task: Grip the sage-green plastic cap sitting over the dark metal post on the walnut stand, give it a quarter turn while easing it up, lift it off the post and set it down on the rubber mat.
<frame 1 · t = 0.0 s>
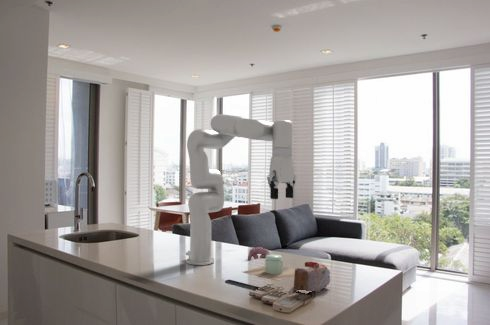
hand: (281, 198, 150), 31 cm above the worktop, tool pointing down, fingers open, 9 cm apart
mat: (248, 283, 145), on the worktop
food item: (311, 290, 139), on the worktop
post stand: (273, 275, 157), on the worktop
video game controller: (258, 260, 184), on the worktop
cap: (273, 271, 157), point 1 cm above the worktop, touching post stand
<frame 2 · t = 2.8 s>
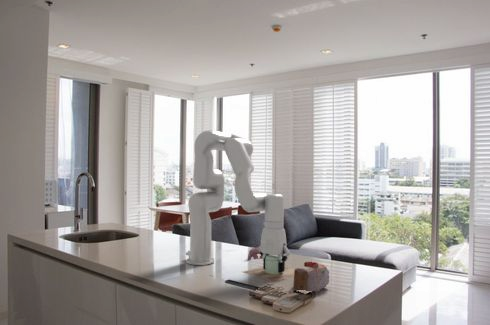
hand: (273, 270, 157), 2 cm above the worktop, tool pointing down, fingers closed on cap, 6 cm apart
cap: (273, 271, 157), point 1 cm above the worktop, touching gripper, post stand
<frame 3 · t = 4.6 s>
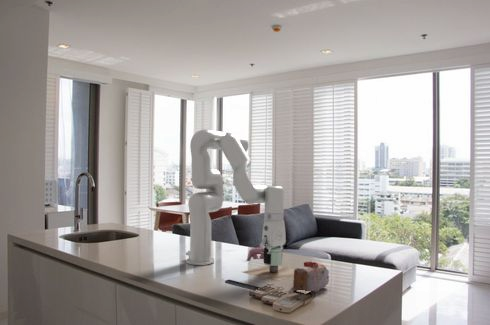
hand: (272, 261, 157), 5 cm above the worktop, tool pointing down, fingers closed on cap, 6 cm apart
cap: (272, 263, 157), point 5 cm above the worktop, touching gripper
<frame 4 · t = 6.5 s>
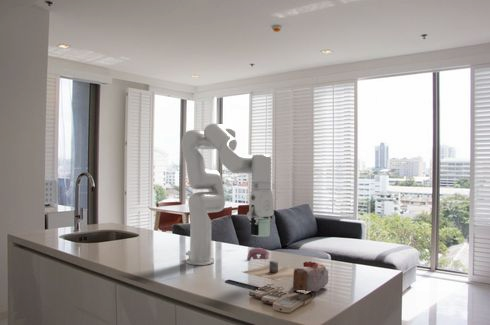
hand: (260, 233, 151), 18 cm above the worktop, tool pointing down, fingers closed on cap, 6 cm apart
cap: (260, 235, 151), point 17 cm above the worktop, touching gripper
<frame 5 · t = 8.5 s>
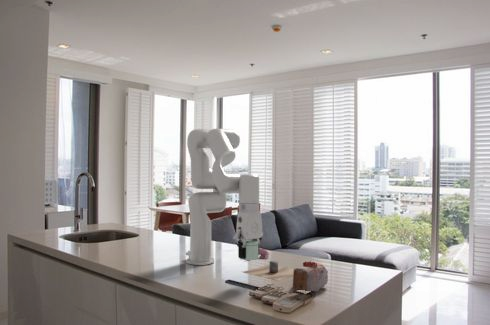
hand: (248, 256, 145), 10 cm above the worktop, tool pointing down, fingers closed on cap, 6 cm apart
cap: (248, 258, 145), point 9 cm above the worktop, touching gripper
when the fingers open (3 cm above the worktop, at t = 10.3 s): cap drops 1 cm, resting on mat.
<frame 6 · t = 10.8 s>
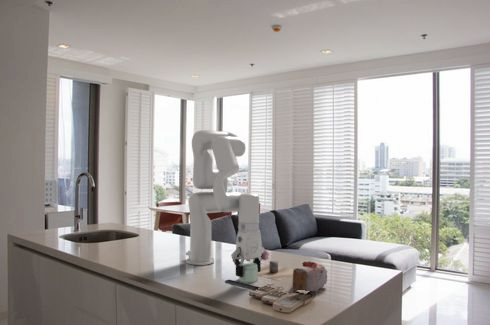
hand: (248, 273, 145), 4 cm above the worktop, tool pointing down, fingers open, 9 cm apart
cap: (248, 281, 145), point 1 cm above the worktop, touching mat
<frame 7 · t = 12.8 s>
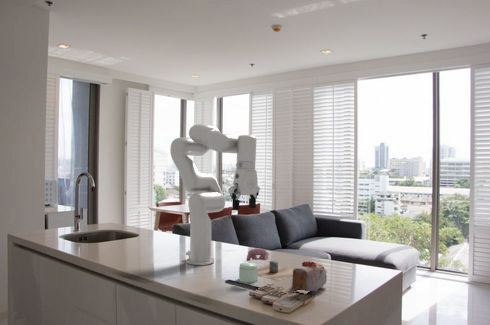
hand: (244, 209, 158), 26 cm above the worktop, tool pointing down, fingers open, 9 cm apart
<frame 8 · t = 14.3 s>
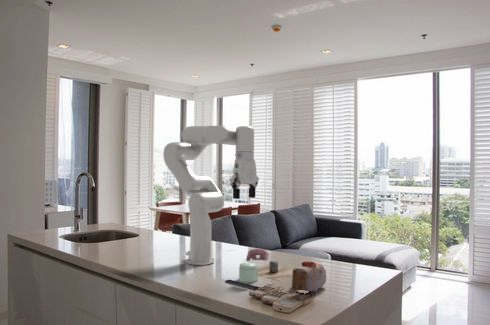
hand: (244, 198, 162), 30 cm above the worktop, tool pointing down, fingers open, 9 cm apart
at the end: cap inside the target area on the mat (0.0 cm from its centre), point 0.8 cm above the mat's base; cap tilted 0°; the gripper is holding nothing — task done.
